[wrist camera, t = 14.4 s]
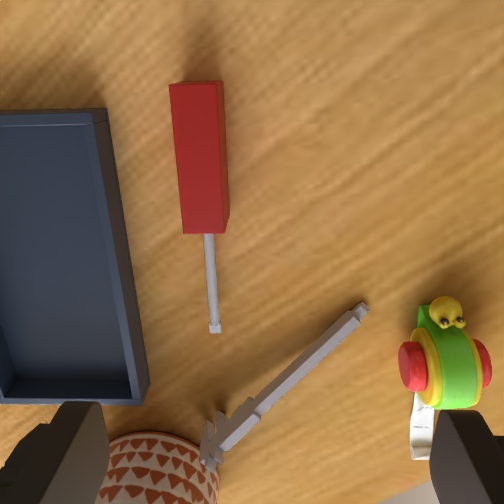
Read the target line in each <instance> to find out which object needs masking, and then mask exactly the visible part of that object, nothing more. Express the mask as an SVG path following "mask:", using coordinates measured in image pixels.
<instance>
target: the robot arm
mask: <svg viewBox="0 0 504 504" xmlns="http://www.w3.org/2000/svg"><path fill="white" fill-rule="evenodd" d="M109 461H110V444H109V440H108V435H107V431H106V426H105V421H104V417H103V412H102V408H101V405H100V403H99V402H98V401H65V402H64V403H63V404H62V405H61V406H60V408H59V409H58V411H57V413H56V414H55V416H54V417H53V419H52V421H51V422H50V424H42V423H40V424H39V425H38V426H36V427H35V428H34V429H33V430H32V431H31V432H29V433H28V434H27V435H26V436H25V437H24V438H23V439H21V440H20V441H19V442H18V444H17V445H16V447H15V448H14V450H13V451H12V453H11V454H10V456H9V457H8V459H7V460H6V462H5V466H4V467H2V468H1V469H0V504H94V503H95V501H96V498H97V496H98V494H99V491H100V489H101V486H102V484H103V481H104V479H105V476H106V473H107V470H108V466H109ZM429 465H430V474H431V479H432V483H433V486H434V489H435V492H436V494H437V497H438V500H439V503H440V504H504V436H493V434H492V432H491V431H490V429H489V427H488V425H487V424H486V422H485V420H484V418H483V417H482V415H481V414H480V413H479V412H478V411H476V410H441V411H440V413H439V415H438V420H437V424H436V429H435V434H434V438H433V443H432V448H431V452H430V459H429Z"/></svg>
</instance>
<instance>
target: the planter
mask: <svg viewBox="0 0 504 504" xmlns="http://www.w3.org/2000/svg"><path fill="white" fill-rule="evenodd" d="M109 444H110V461H109V466H108V470H107V473H106V476H105V479H104V481H103V484H102V486H101V489H100V491H99V494H98V496H97V498H96V501H95V503H94V504H217V499H218V491H219V477H218V473H217V470H216V469H215V472H214V473H212V472H210V471H209V470H207V469H206V468H205V465H203V464H202V463H201V462H200V448H199V447H197V446H196V445H194V444H193V443H191V442H189V441H187V440H185V439H183V438H180V437H178V436H175V435H171V434H167V433H162V432H148V431H147V432H136V433H131V434H127V435H124V436H121V437H119V438H117V439H115V440H113V441H111V442H110V443H109Z"/></svg>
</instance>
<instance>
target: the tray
mask: <svg viewBox="0 0 504 504" xmlns="http://www.w3.org/2000/svg"><path fill="white" fill-rule="evenodd" d="M149 386H150V379H149V372H148V366H147V360H146V353H145V347H144V341H143V334H142V328H141V322H140V315H139V309H138V303H137V297H136V290H135V284H134V278H133V271H132V265H131V259H130V252H129V246H128V240H127V233H126V227H125V221H124V214H123V208H122V202H121V195H120V189H119V183H118V176H117V170H116V164H115V158H114V151H113V145H112V139H111V132H110V126H109V120H108V113H107V108H77V109H36V110H0V404H36V405H62V404H63V403H64V402H65V401H98V402H99V403H100V405H137V406H142V404H143V402H144V399H145V396H146V394H147V391H148V388H149Z"/></svg>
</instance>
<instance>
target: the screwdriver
mask: <svg viewBox="0 0 504 504" xmlns="http://www.w3.org/2000/svg"><path fill="white" fill-rule="evenodd" d="M169 93H170V103H171V113H172V123H173V133H174V144H175V154H176V164H177V174H178V184H179V195H180V205H181V215H182V225H183V233H184V234H203V239H204V252H205V265H206V278H207V290H208V303H209V316H210V322H209V333H221V322H219V307H218V292H217V277H216V262H215V247H214V234H224V233H225V230H226V226H227V223H228V219H229V215H230V213H229V193H228V172H227V152H226V132H225V111H224V91H223V81H190V82H178V83H174V84H170V85H169Z"/></svg>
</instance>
